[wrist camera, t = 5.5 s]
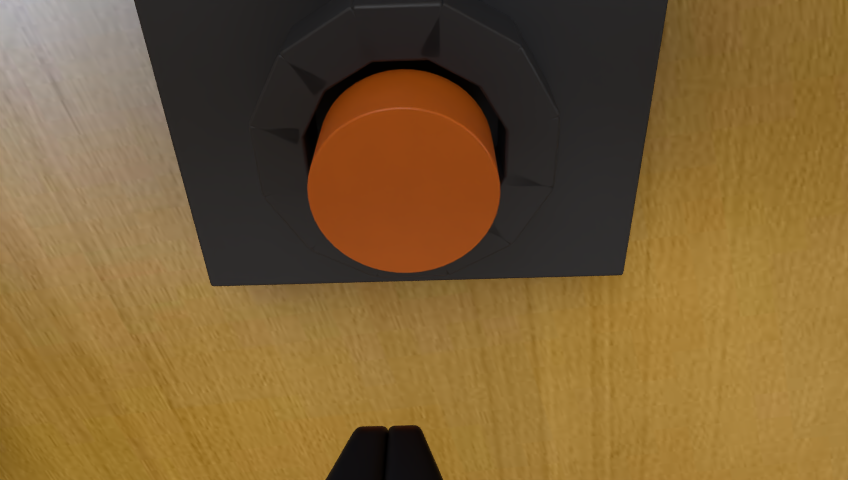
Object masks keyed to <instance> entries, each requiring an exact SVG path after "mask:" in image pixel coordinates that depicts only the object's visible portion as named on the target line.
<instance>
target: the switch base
mask: <svg viewBox="0 0 848 480" xmlns="http://www.w3.org/2000/svg"><path fill="white" fill-rule="evenodd" d="M134 2H135V6H136V9H137V13H138V17H139V20H140V24H141V28H142V31H143V35H144V39H145V43H146V46H147V50H148V54H149V57H150V61H151V65H152V68H153V72H154V76H155V80H156V83H157V87H158V91H159V94H160V98H161V102H162V105H163V109H164V113H165V117H166V120H167V124H168V128H169V131H170V135H171V139H172V142H173V146H174V150H175V154H176V157H177V161H178V165H179V168H180V172H181V176H182V179H183V183H184V187H185V190H186V194H187V198H188V202H189V205H190V209H191V213H192V216H193V220H194V224H195V227H196V231H197V235H198V239H199V242H200V246H201V250H202V253H203V257H204V261H205V264H206V268H207V272H208V276H209V279H210V283H211V285H212V286H240V285H277V284H314V283H351V282H388V281H425V280H461V279H498V278H535V277H572V276H609V275H622V274H623V271H624V265H625V259H626V253H627V247H628V241H629V235H630V229H631V222H632V216H633V210H634V204H635V198H636V192H637V186H638V180H639V174H640V168H641V162H642V156H643V149H644V143H645V137H646V131H647V125H648V119H649V113H650V107H651V101H652V95H653V89H654V82H655V76H656V70H657V64H658V58H659V52H660V46H661V40H662V34H663V28H664V22H665V16H666V9H667V3H668V0H134ZM397 69H414V70H421V71H426V72H430V73H433V74H437V75H439V76H442V77H444V78H446V79H448V80H450V81H452V82H453V83H455V84H457V85H458V86H460V87H461V88H462V89H463V90H465V91H466V92H467V93H468V94H469V95H470V96H471V97H472V98H473V99H474V100H475V101H476V102H477V104H478V105H479V107H480V108H481V109H482V111H483V113H484V115H485V117H486V119H487V121H488V124H489V127H490V130H491V135H492V140H493V146H494V151H495V157H496V162H497V168H498V174H499V179H500V202H499V207H498V211H497V214H496V217H495V219H494V221H493V224H492V225H491V227H490V229H489V230H488V232H487V234H486V235H485V236H484V237H483V239H482V240H481V241H480V242H479V243H478V244H477V245H476V246H475V247H474V248H473V249H472V250H471V251H469V252H468V253H467V254H465V255H464V256H463V257H461V258H459V259H457V260H456V261H454V262H452V263H450V264H447V265H445V266H443V267H439V268H436V269H433V270H428V271H423V272H414V273H396V272H388V271H383V270H378V269H374V268H371V267H369V266H366V265H363V264H361V263H359V262H357V261H355V260H353V259H351V258H349V257H348V256H346V255H345V254H343V253H342V252H341V251H339V250H338V249H337V248H336V247H334V246H333V244H332V243H331V242H330V241H329V240H328V239H327V238H326V237H325V236H324V234H323V233H322V232H321V230H320V229H319V227H318V225H317V223H316V221H315V220H314V217H313V215H312V212H311V210H310V205H309V201H308V192H307V183H308V175H309V171H310V166H311V163H312V159H313V156H314V152H315V149H316V145H317V141H318V138H319V134H320V131H321V127H322V124H323V121H324V119H325V116H326V114H327V113H328V111H329V109H330V107H331V106H332V104H333V103H334V102H335V101H336V99H337V98H338V97H339V96H340V95H341V94H342V93H343V92H344V91H345V90H346V89H348V88H349V87H350V86H352V85H353V84H355V83H356V82H358V81H360V80H362V79H364V78H365V77H368V76H370V75H373V74H376V73H379V72H384V71H388V70H397Z"/></svg>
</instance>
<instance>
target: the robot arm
mask: <svg viewBox="0 0 848 480" xmlns="http://www.w3.org/2000/svg"><path fill="white" fill-rule="evenodd" d="M326 480H443V478H442V476H441V474H440V471H439V469H438V467H437V464H436V462H435V460H434V457H433V455H432V453H431V451H430V448H429V446H428V444H427V441H426V439H425V437H424V434H423V432H422V430H421V429H420V427H418V426H416V425H407V426H392V427H391V428H390V429H389V431H388V430H387V428H386V427H383V426H366V427H358V428H357V429H356V430H355V431H354V432H353V434H352V435H351V437H350V439H349V440H348V442H347V444H346V446H345V447H344V449H343V451H342V453H341V454H340V456H339V458H338V459H337V461H336V463H335V465H334V466H333V468H332V470H331V471H330V473H329V475H328V477H327V478H326Z"/></svg>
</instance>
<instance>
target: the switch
mask: <svg viewBox="0 0 848 480" xmlns="http://www.w3.org/2000/svg"><path fill="white" fill-rule="evenodd" d="M307 192H308V201H309V205H310V210H311V212H312V215H313V217H314V220H315V221H316V223H317V225H318V227H319V229H320V230H321V232H322V233H323V234H324V236H325V237H326V238H327V239H328V240H329V241H330V242H331V243H332V244H333V246H334V247H336V248H337V249H338V250H339V251H341V252H342V253H343V254H345V255H346V256H348V257H349V258H351V259H353V260H355V261H357V262H359V263H361V264H363V265H366V266H369V267H371V268H374V269H378V270H383V271H388V272H396V273H414V272H423V271H428V270H433V269H436V268H439V267H443V266H445V265H447V264H450V263H452V262H454V261H456V260H457V259H459V258H461V257H463V256H464V255H465V254H467V253H468V252H469V251H471V250H472V249H473V248H474V247H475V246H476V245H477V244H478V243H479V242H480V241H481V240H482V239H483V237H484V236H485V235H486V234H487V232H488V230H489V229H490V227H491V225H492V224H493V221H494V219H495V217H496V214H497V211H498V207H499V202H500V179H499V174H498V168H497V162H496V157H495V151H494V146H493V140H492V135H491V130H490V127H489V124H488V121H487V119H486V117H485V115H484V113H483V111H482V109H481V108H480V107H479V105H478V104H477V102H476V101H475V100H474V99H473V98H472V97H471V96H470V95H469V94H468V93H467V92H466V91H465V90H463V89H462V88H461V87H460V86H458V85H457V84H455V83H453V82H452V81H450V80H448V79H446V78H444V77H442V76H439V75H437V74H433V73H430V72H426V71H421V70H414V69H397V70H388V71H384V72H379V73H376V74H373V75H370V76H368V77H365V78H364V79H362V80H360V81H358V82H356V83H355V84H353V85H352V86H350V87H349V88H348V89H346V90H345V91H344V92H343V93H342V94H341V95H340V96H339V97H338V98H337V99H336V101H335V102H334V103H333V104H332V106H331V107H330V109H329V111H328V113H327V114H326V116H325V119H324V121H323V124H322V127H321V131H320V134H319V138H318V141H317V145H316V149H315V152H314V156H313V159H312V163H311V166H310V171H309V175H308V183H307Z"/></svg>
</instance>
